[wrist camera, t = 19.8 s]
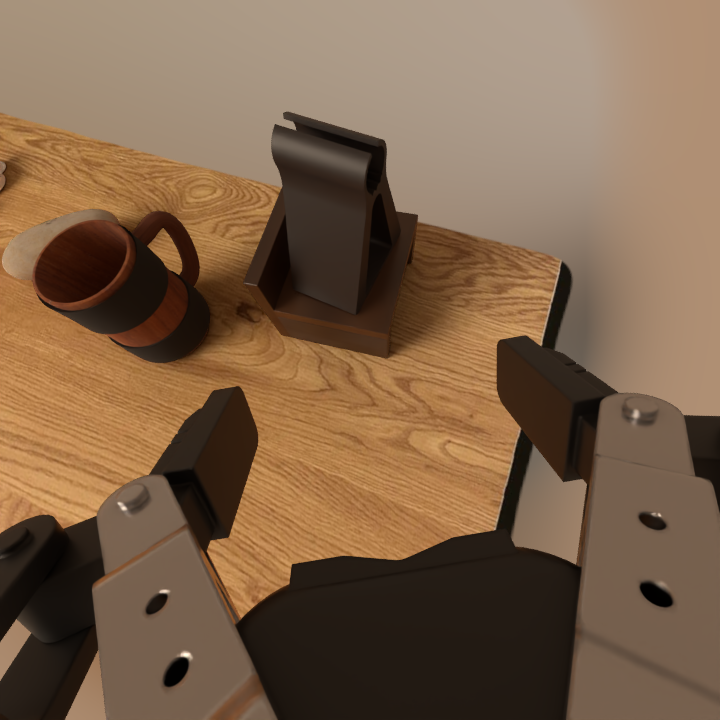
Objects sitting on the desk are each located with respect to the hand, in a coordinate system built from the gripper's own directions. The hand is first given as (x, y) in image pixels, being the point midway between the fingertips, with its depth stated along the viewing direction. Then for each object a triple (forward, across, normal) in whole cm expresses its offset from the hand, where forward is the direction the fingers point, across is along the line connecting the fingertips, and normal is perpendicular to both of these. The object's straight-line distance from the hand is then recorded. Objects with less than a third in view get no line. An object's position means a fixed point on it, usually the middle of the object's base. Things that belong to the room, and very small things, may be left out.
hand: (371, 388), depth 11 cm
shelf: (+26, 0, +4) cm, 26 cm away
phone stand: (+22, 0, 0) cm, 22 cm away
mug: (+27, +18, +3) cm, 33 cm away
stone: (+34, +30, -4) cm, 46 cm away
